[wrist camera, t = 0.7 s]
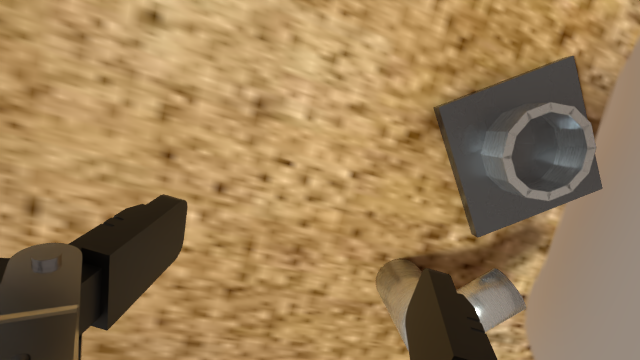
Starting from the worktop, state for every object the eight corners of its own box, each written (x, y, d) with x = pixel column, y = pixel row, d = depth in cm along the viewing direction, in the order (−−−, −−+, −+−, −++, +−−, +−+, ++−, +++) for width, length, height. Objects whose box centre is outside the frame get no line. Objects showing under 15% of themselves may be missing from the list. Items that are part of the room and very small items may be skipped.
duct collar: (433, 107, 34) (455, 105, 30) (563, 57, 35) (605, 48, 30) (471, 233, 37) (497, 250, 32) (592, 186, 37) (635, 195, 33)
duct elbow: (389, 311, 38) (429, 387, 27) (367, 274, 37) (399, 338, 26) (465, 266, 38) (536, 324, 27) (444, 228, 37) (509, 273, 26)
